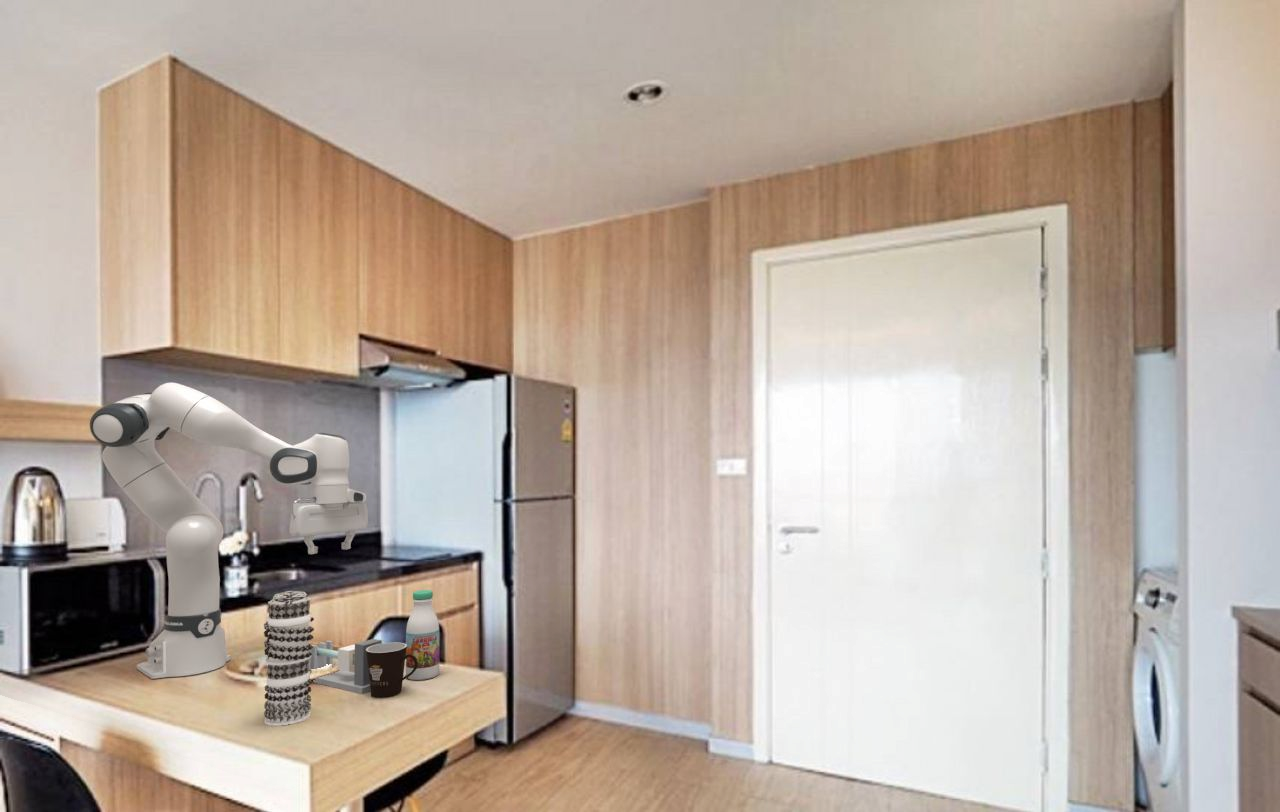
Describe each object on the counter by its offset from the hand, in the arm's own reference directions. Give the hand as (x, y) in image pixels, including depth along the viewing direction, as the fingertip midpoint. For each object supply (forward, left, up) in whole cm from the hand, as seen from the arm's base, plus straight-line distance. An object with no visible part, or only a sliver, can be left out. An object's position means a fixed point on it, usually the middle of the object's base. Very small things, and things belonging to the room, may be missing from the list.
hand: (329, 551), depth 178 cm
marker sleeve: (+16, -5, -25) cm, 30 cm away
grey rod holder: (+13, -5, -29) cm, 32 cm away
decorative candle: (+23, -25, -29) cm, 45 cm away
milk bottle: (+26, +7, -29) cm, 40 cm away
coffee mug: (+30, -6, -29) cm, 42 cm away
